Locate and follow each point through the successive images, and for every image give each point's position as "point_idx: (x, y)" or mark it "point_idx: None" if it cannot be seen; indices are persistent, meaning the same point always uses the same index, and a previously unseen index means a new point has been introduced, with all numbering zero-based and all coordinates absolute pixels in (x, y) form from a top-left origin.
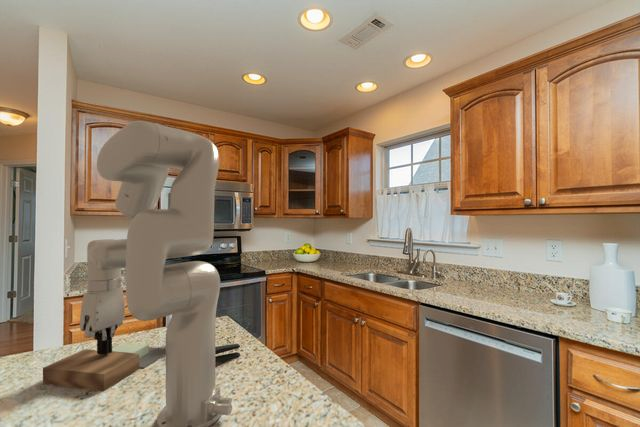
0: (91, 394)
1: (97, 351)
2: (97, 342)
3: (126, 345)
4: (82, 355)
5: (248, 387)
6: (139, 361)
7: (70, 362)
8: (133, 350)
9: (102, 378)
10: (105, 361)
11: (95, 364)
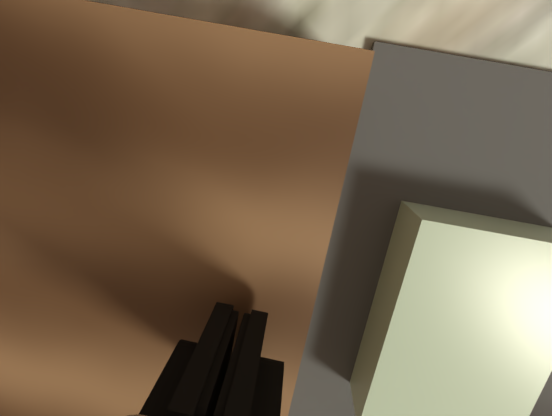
0: None
1: (211, 313)
2: (141, 411)
3: (520, 319)
4: (226, 154)
5: None
6: (346, 412)
7: (88, 157)
8: (402, 411)
9: None
10: (142, 396)
11: (93, 362)
